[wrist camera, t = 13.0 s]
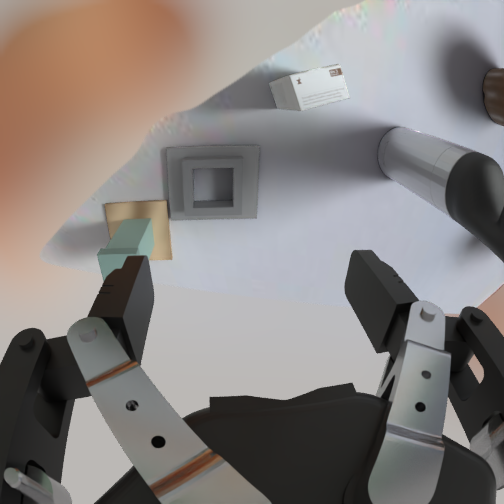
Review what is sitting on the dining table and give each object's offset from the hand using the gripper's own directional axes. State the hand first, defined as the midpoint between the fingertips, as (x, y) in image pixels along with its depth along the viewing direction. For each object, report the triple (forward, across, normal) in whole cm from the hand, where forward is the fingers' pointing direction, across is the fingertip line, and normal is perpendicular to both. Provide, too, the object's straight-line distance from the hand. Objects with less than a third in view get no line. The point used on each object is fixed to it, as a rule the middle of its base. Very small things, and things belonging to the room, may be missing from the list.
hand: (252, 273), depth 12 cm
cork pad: (+33, +14, +14) cm, 38 cm away
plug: (+32, +14, +13) cm, 38 cm away
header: (+33, +2, +6) cm, 34 cm away
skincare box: (+33, -9, -8) cm, 35 cm away
